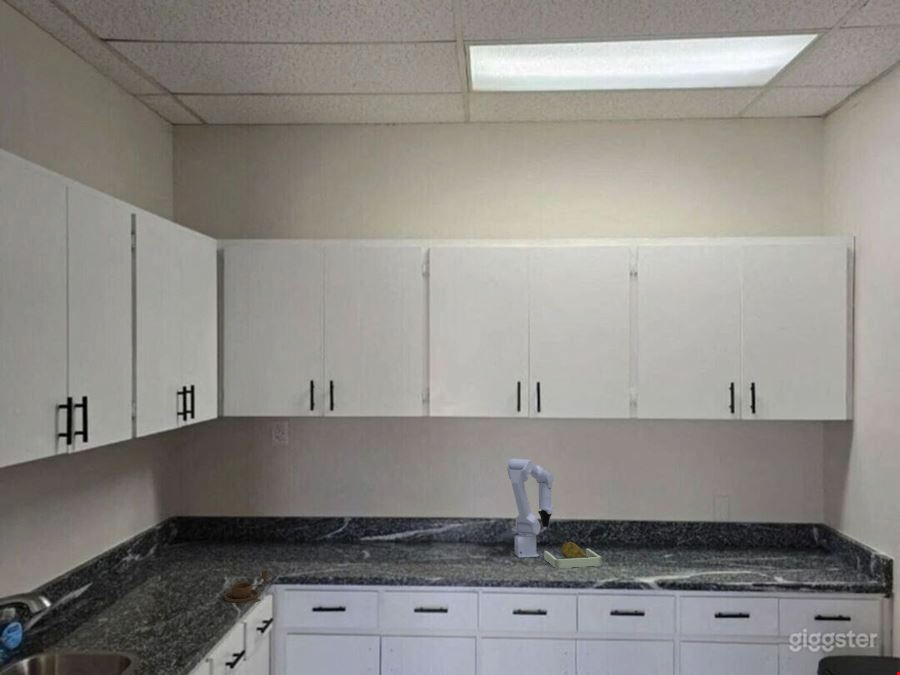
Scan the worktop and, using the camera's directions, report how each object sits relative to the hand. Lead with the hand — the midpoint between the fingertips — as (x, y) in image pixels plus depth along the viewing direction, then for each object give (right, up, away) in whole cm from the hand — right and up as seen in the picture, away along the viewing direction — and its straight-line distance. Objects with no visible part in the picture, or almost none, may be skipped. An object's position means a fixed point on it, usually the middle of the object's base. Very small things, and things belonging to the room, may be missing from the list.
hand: (545, 526), depth 323 cm
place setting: (-118, -8, -67) cm, 136 cm away
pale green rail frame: (+8, -8, -26) cm, 29 cm away
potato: (+8, -8, -27) cm, 30 cm away
